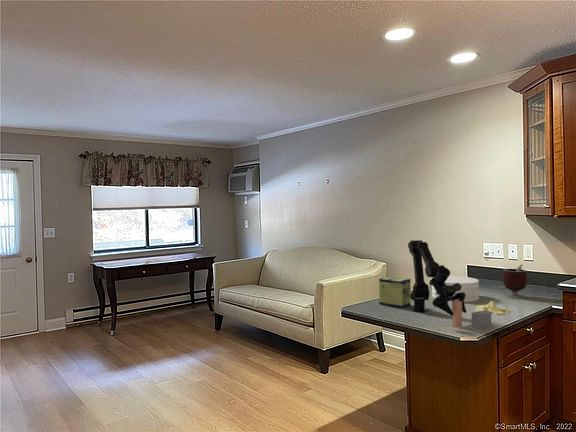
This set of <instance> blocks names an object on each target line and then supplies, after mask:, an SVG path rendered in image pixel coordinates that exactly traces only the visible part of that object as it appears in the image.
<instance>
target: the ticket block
mask: <svg viewBox="0 0 576 432" xmlns="http://www.w3.org/2000/svg"><path fill="white" fill-rule="evenodd" d="M491 326H492V313H491V312H489V311H486V310H484V311H480V310H478V311H476V312H471V323H469V324H466V325H462V326H460V327H457V329H458V330H460V329H465V328H469V327H471V328H472V329H473V328H474V329H476V330H480V329H484V328H487V327H491Z"/></svg>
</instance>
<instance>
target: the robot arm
mask: <svg viewBox="0 0 576 432" xmlns="http://www.w3.org/2000/svg"><path fill="white" fill-rule="evenodd" d="M407 248H408V250H409V253H410V255H411V256H412V259H413V262H412V263H413V270H414V280H415V282H414V284H413V286H412V290H411V292H410V300H411V301H413V309H412V310H411V311H413V312H416V313H417V312H418V313H425V312H427V308H426V306H425V305H426V301H429V299H430V294H431V293H430V290H429V286H431V287H432V286H433V287H434V288H435V290H436V291H437V292H436V294H439V296H437V297H436V298H434V299H433V300H432V303H431V304H432V305H433V307H434V308H437V309H440V310H441V311H444V313H447V314H448V315H450V316H451V317H452V316H453V315H454V314H453V312H452V308H451V307H450V305H449V302H452V301H462V313H464V314H466V313H467V309H466V305H465V302H464V299H465V297H466V295H465V293H464V292H459V293H457V294H456V295H455V296H453V295H454V294H455V292H457V291H461V288H462V286H461V285H460V284H459V283H456V284H454V285H451V286H449V285H446V284H445V283H444V282H445V281H446V280H447V278H448V277H449V276H451V270H450V269H449V268H447V267H446V266H445V265H443V264H442V265H440V264H439V263H438V262H436V261H435V259H434V257H433V255H432V253H431V251H430V247H429V244H428V242H426V241H423V240H422V239H421V240H420V239H419V240H413V239H411V240H410V241H409V242H408V243H407ZM423 262H424V264H425V268H424V265H423ZM424 273H425V275H426V276H427V278H431V279H430V280H429V285H428V284H427V283H426V282H425V278H424V277H425V275H424Z"/></svg>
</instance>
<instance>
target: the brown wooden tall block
mask: <svg viewBox="0 0 576 432" xmlns="http://www.w3.org/2000/svg"><path fill="white" fill-rule="evenodd" d="M451 303H452V304H451V306H452V308H451V310H452V312H453V314H454V315H453V316H452V315H451V321H452V322H451V326H452V327H453V328H458V327H460V326H463V311H462V301H451Z"/></svg>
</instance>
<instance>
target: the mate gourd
mask: <svg viewBox="0 0 576 432" xmlns="http://www.w3.org/2000/svg"><path fill="white" fill-rule="evenodd" d="M522 267H523V264H520V265H518V267H517V268H504V269H503V271H502V284H503V286H504V287H505V288H506V289H507V290H510V291H511V293H504V295H503V297H505V298H508V299H515V300H523V299H526V295H524V294H519V293H518V292H520V291H522V290H524V289H525V288H526V286H527V284H528V273H527V270H526V269H523V268H522Z"/></svg>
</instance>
